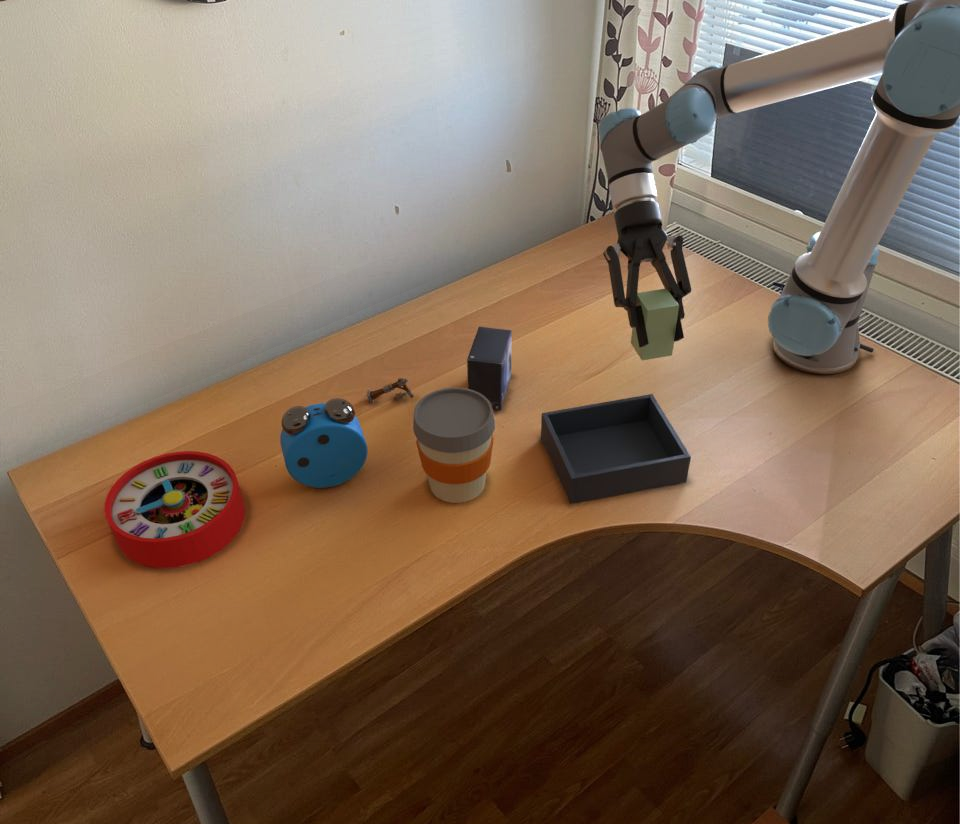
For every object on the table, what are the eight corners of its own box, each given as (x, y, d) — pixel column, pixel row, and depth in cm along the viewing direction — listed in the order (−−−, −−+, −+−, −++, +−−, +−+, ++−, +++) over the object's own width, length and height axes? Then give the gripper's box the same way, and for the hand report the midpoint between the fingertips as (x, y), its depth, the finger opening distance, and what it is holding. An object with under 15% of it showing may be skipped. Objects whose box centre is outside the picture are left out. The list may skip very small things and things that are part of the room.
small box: (503, 412, 160) (502, 363, 152) (467, 408, 161) (464, 360, 154) (513, 376, 167) (513, 328, 160) (478, 373, 168) (477, 325, 161)
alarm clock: (365, 456, 152) (353, 385, 142) (372, 480, 148) (361, 408, 138) (287, 473, 150) (270, 402, 139) (293, 498, 146) (276, 427, 135)
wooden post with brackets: (417, 397, 162) (405, 379, 159) (378, 413, 164) (366, 395, 161) (417, 391, 163) (405, 372, 160) (379, 406, 166) (366, 389, 163)
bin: (649, 419, 157) (652, 393, 154) (686, 482, 146) (691, 456, 142) (540, 438, 155) (541, 412, 151) (570, 504, 143) (571, 478, 139)
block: (660, 338, 159) (666, 288, 152) (672, 355, 155) (679, 305, 148) (630, 343, 158) (635, 293, 151) (641, 360, 154) (647, 310, 147)
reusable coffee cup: (480, 518, 141) (477, 446, 131) (406, 500, 145) (398, 428, 134) (506, 467, 150) (505, 395, 139) (436, 451, 153) (430, 379, 142)
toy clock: (255, 509, 136) (122, 561, 129) (263, 536, 140) (134, 587, 133) (214, 435, 148) (91, 478, 142) (222, 462, 152) (103, 505, 146)
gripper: (679, 206, 157) (704, 338, 156) (577, 222, 154) (602, 355, 154) (695, 191, 149) (722, 329, 149) (588, 206, 146) (615, 347, 146)
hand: (661, 342), depth 151 cm, fingers closed on block, 5 cm apart
